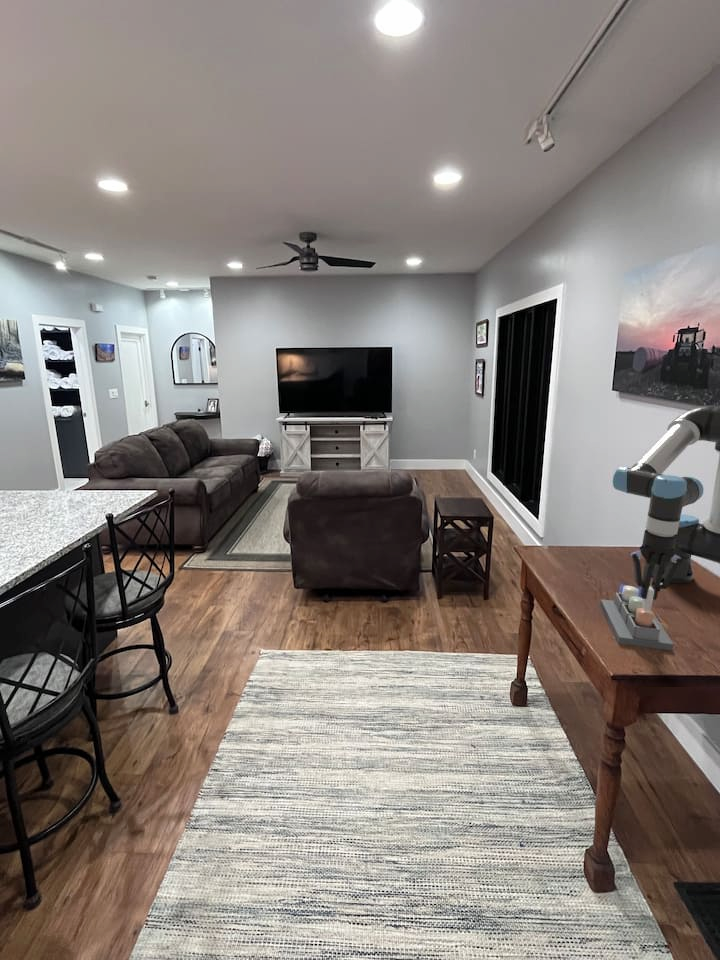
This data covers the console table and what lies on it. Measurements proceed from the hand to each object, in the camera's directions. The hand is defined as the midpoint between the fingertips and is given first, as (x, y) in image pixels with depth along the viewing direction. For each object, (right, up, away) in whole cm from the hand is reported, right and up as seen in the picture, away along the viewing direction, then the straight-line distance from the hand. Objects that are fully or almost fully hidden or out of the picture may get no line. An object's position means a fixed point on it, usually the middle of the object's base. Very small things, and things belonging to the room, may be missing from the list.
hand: (646, 608), depth 137 cm
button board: (+2, -8, +9) cm, 12 cm away
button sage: (+2, -3, +8) cm, 9 cm away
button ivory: (+3, -1, +15) cm, 15 cm away
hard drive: (+11, -4, +27) cm, 29 cm away
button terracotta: (0, -5, +1) cm, 5 cm away
